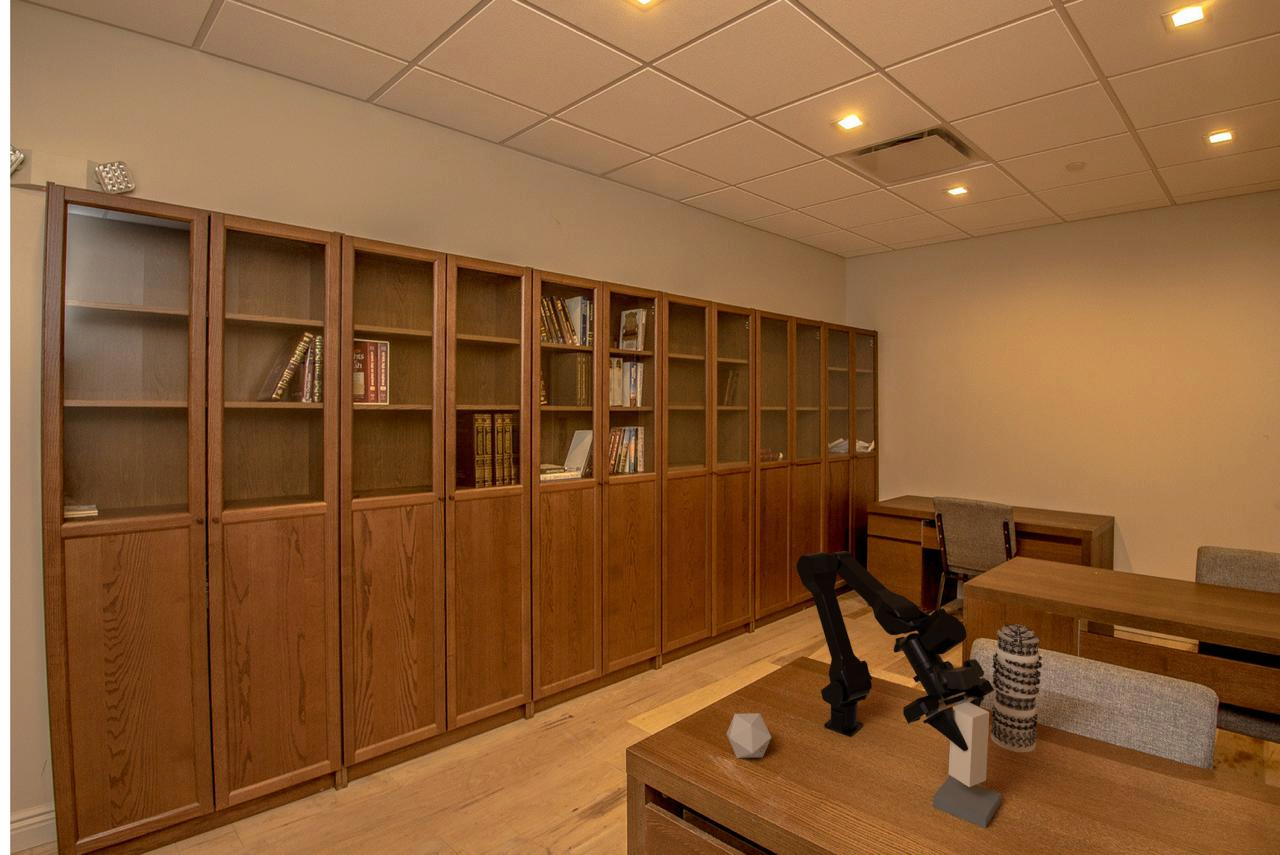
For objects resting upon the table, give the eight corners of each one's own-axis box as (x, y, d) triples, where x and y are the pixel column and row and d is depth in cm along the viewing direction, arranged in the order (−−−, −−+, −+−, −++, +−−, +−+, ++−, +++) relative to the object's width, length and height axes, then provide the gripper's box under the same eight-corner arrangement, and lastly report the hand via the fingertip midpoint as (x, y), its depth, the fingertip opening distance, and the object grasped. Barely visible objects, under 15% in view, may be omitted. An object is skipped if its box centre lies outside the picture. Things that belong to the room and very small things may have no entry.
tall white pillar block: (948, 774, 130) (951, 707, 129) (964, 767, 132) (968, 701, 131) (969, 787, 126) (972, 718, 125) (985, 780, 128) (989, 712, 127)
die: (759, 774, 141) (783, 728, 143) (720, 749, 142) (744, 704, 144) (752, 766, 149) (774, 722, 151) (715, 742, 150) (738, 699, 152)
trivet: (949, 784, 136) (950, 774, 136) (1000, 803, 130) (1000, 793, 130) (932, 806, 129) (933, 796, 129) (985, 828, 123) (985, 817, 123)
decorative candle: (1048, 747, 148) (1054, 632, 146) (1016, 757, 145) (1022, 639, 142) (1010, 726, 157) (1015, 617, 154) (979, 735, 153) (984, 624, 151)
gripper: (918, 656, 126) (969, 746, 117) (987, 637, 134) (1040, 719, 126) (883, 680, 134) (928, 766, 125) (951, 660, 142) (997, 739, 134)
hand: (975, 746), depth 127 cm, fingers closed on tall white pillar block, 4 cm apart
